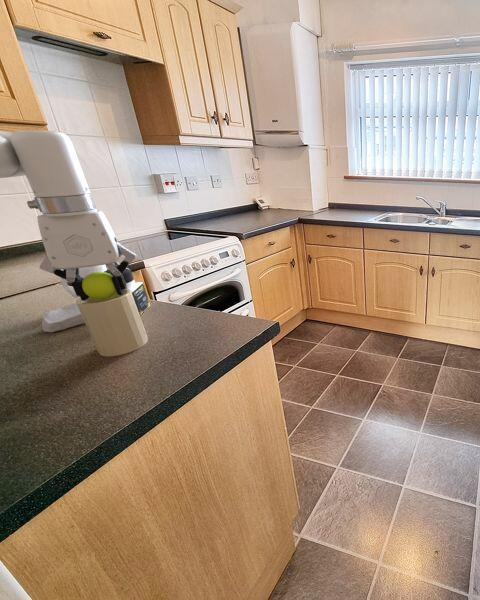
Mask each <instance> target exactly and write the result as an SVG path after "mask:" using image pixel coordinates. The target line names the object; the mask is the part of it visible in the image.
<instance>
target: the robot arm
mask: <svg viewBox="0 0 480 600" xmlns="http://www.w3.org/2000/svg"><path fill="white" fill-rule="evenodd" d="M78 157H79V156H78V154H77V153H76V150H75V147H74V144H73V141H72V140H71V138H70V137H69V136H68V135H67V134H66V133H64V132H61V131H55V130H41V129H40V130H33V129H31V130H30V129H29V130H27V129H26V130H24V129H23V130H15V131H13V132H12V131H5V130H0V179H5V178H16V177H23V176H25V177H26V179H27V181H28V184H29V186H30V188H31V191H32V194H33V195H34V196H33V199H32V200H27V201H26V205H27V206H28V208H29V209H30V210H31V209H35V210H38V211H39V213H42V214H39V215H37V216H36V219H37V224H38V230H39V233H40V237H41V240H42V244H43V247H44V250H45V253H46V255H45V257H44V258H43V260H42V261H41V263H40V265H39V269H40V270H42V271H44V272H48V273H51V274H54V275H55V276H57V277H59V278H60V279H61V278H63V279H66V282H67V283H70V284H71V287H72V288H73V290H74V291H75V293H76V295H77V296H80V297H79V298H81V300H82V301H85V300H87V299H88V298H89V297H90V296H88V295H87V294H85V292H84V291H83V289H82V281H83V279H84V278H83V277H80V276H79V268H82V267H91V266H99V265H105V266H106V268H107V270H110V271H111V272H112V275H113V277H112V281H113V284H114V286H115V289H116V291H117V294H118V295H123V293H124V292H125V289H127V285H126V282H125V279H124V277H123V274H122V272H123V271H124V270H125V269H126V268H128V266H129V265H130V264H131V263H133V262H134V260H135V259H136V258H137V257H138V255H137V254H136V253H135V252H133V250H130V249H129V248H127V247H125V246H124V245H122V244H121V243H120V242H119V240H118V238H117V236H116V234H115V232H114V229H113V228H112V226H111V224H110V222H109V220H108V218H107V216H106V215H105V214H104V212H103V211H102V209H97V206H96V203H95V200H94V198H93V195H92V193H91V190H90V187H89V183H88V182H87V179H86V177H85V174H84V171H83V169H82V165H81V163H80V160H79V158H78ZM122 256H124V259H123V260H122V261H121V262H120V263H119V259H120V258H121V257H122Z"/></svg>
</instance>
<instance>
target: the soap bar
mask: <svg viewBox="0 0 480 600" xmlns="http://www.w3.org/2000/svg"><path fill="white" fill-rule="evenodd" d="M41 322H42V323H41V325H42V329H43V332H46V333H55V332H60V331H64V330H66V329H70V328H73V327H76V326H79V325H83V324H85V322H84V319H83V317H82V315H81V313H80V310H79V308H78V306H77V303H76V302H73V303H71V304H68V305H66V306H61V307H60V308H55V309H52V310H49V311H46V312H44V313H43V315H42V321H41Z"/></svg>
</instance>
